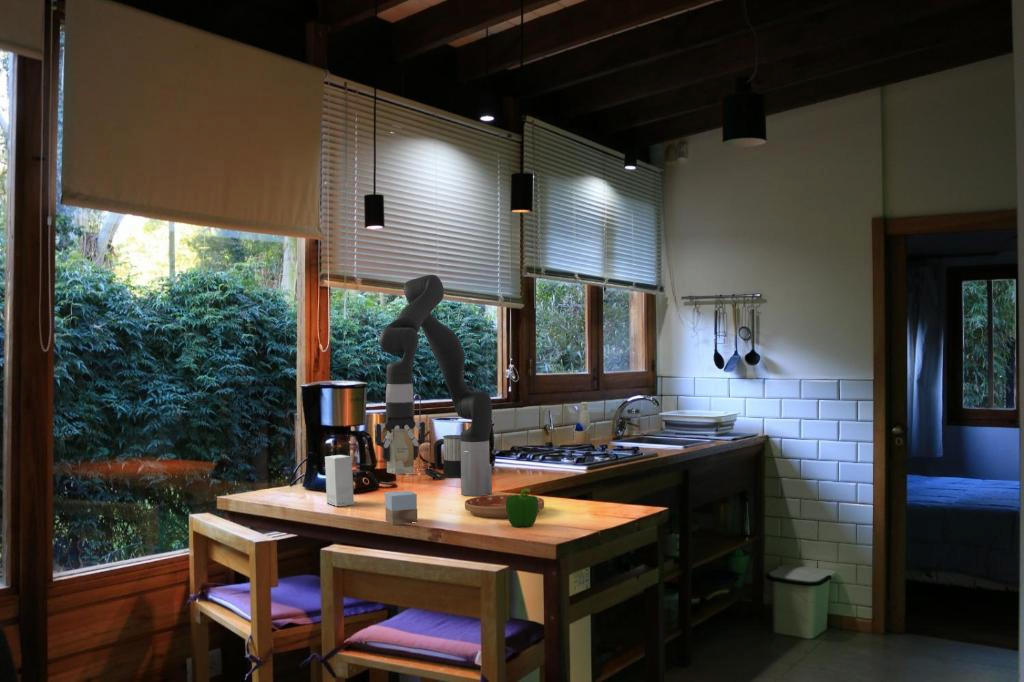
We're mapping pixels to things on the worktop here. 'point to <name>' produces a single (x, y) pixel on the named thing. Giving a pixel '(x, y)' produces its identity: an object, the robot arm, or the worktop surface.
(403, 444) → the skincare box
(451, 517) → the worktop surface
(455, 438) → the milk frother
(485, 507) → the saucer
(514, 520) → the bell pepper
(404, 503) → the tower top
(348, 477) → the skincare box
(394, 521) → the tower base
